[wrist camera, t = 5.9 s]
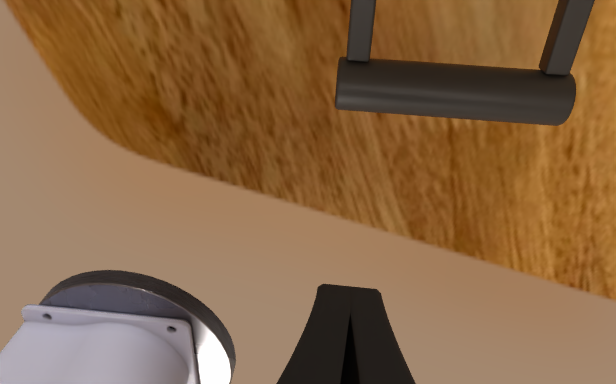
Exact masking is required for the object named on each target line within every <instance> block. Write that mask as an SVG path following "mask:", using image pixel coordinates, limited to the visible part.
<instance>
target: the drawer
mask: <svg viewBox="0 0 616 384" xmlns="http://www.w3.org/2000/svg"><path fill="white" fill-rule="evenodd" d="M594 1H595V0H559V1H558V5H557V8H556V11H555V14H554V18H553V21H552V24H551V27H550V31H549V34H548V37H547V40H546V44H545V47H544V50H543V53H542V57H541V60H540V63H539V68H540V69H541V70H533V69H518V68H503V67H489V66H474V65H459V64H444V63H430V62H415V61H400V60H385V59H370V52H371V43H372V34H373V25H374V16H375V7H376V0H351V9H350V21H349V32H348V44H347V56H346V57H340V58H339V61H338V71H337V83H336V96H335V108H336V109H338V110H350V111H364V112H377V113H391V114H404V115H418V116H431V117H445V118H458V119H472V120H485V121H499V122H512V123H526V124H539V125H553V126H558V125H561V124H563V123H564V122H565V121H566V120H567V119H568V117H569V115H570V114H571V111H572V109H573V106H574V102H575V96H576V84H575V79H574V77H573V75H572V74H570V70H571V67H572V64H573V61H574V59H575V56H576V53H577V50H578V47H579V44H580V41H581V38H582V35H583V32H584V30H585V27H586V24H587V21H588V18H589V15H590V12H591V9H592V6H593V4H594Z"/></svg>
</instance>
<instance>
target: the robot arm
mask: <svg viewBox="0 0 616 384" xmlns="http://www.w3.org/2000/svg"><path fill="white" fill-rule="evenodd" d="M21 314H22V316H23V319H24V321H25V322H24V323H23V324H22V325H21V327H20V328H19V329H18V331H17V332H16V333H15V335H14V336H13V337H12V338H11V340H10V341H9V342H8V343H7V345H6V346H5V347H4V348H3V350H2V351H1V352H0V384H199V380H198V372H197V365H196V357H195V350H194V342H193V335H192V327H191V324H190V323H189V322H188V321H186V320H183V319H175V318H165V317H155V316H145V315H135V314H125V313H115V312H106V311H96V310H86V309H76V308H66V307H56V306H46V305H36V304H27V305H26V306H25V307H24V308H23V309H22V311H21ZM277 384H415V382H414V379H413V377H412V375H411V373H410V371H409V368H408V366H407V364H406V362H405V360H404V357H403V355H402V353H401V351H400V348H399V346H398V343H397V341H396V338H395V336H394V333H393V331H392V328H391V325H390V323H389V320H388V317H387V314H386V311H385V307H384V304H383V300H382V296H381V293H380V292H379V291H378V290H377V289H370V288H360V287H349V286H339V285H330V284H322V285H320V286H319V287H318V289H317V295H316V299H315V302H314V305H313V308H312V311H311V314H310V317H309V319H308V322H307V324H306V327H305V329H304V331H303V333H302V336H301V338H300V340H299V342H298V344H297V346H296V348H295V351H294V352H293V354H292V357H291V358H290V361H289V362H288V364H287V366H286V368H285V370H284V371H283V373H282V375H281V377H280V378H279V380H278V382H277Z"/></svg>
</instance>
